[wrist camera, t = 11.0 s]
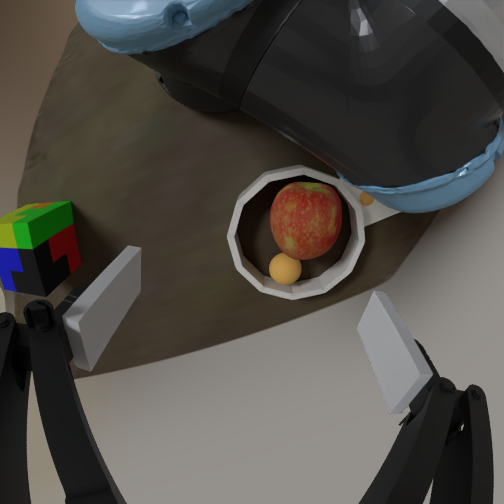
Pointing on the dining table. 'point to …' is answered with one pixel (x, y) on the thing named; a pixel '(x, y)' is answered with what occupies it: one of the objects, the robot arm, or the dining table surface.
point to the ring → (309, 285)
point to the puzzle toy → (38, 247)
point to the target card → (369, 206)
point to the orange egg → (284, 269)
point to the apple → (306, 219)
